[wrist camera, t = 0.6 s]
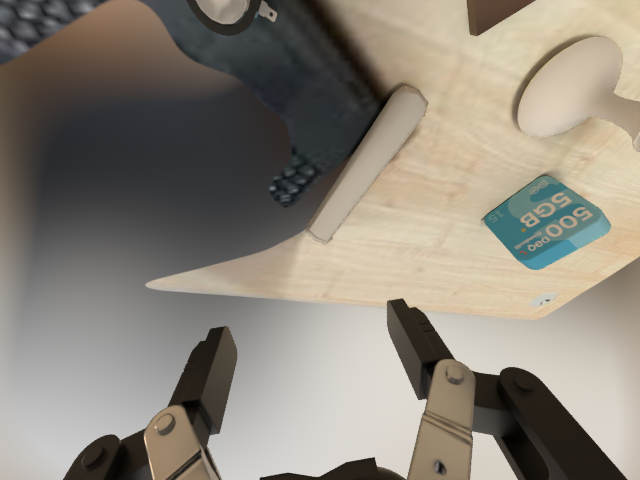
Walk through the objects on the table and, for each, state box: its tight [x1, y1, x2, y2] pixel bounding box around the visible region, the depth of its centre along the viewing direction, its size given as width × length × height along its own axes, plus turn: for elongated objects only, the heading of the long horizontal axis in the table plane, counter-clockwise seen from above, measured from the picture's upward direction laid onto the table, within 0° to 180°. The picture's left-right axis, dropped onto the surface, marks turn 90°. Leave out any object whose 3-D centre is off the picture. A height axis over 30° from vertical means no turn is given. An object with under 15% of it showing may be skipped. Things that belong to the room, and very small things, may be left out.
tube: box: [306, 85, 428, 244], centre depth 37 cm, size 5×5×25 cm
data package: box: [485, 176, 611, 270], centre depth 43 cm, size 12×4×12 cm, turn 144°
